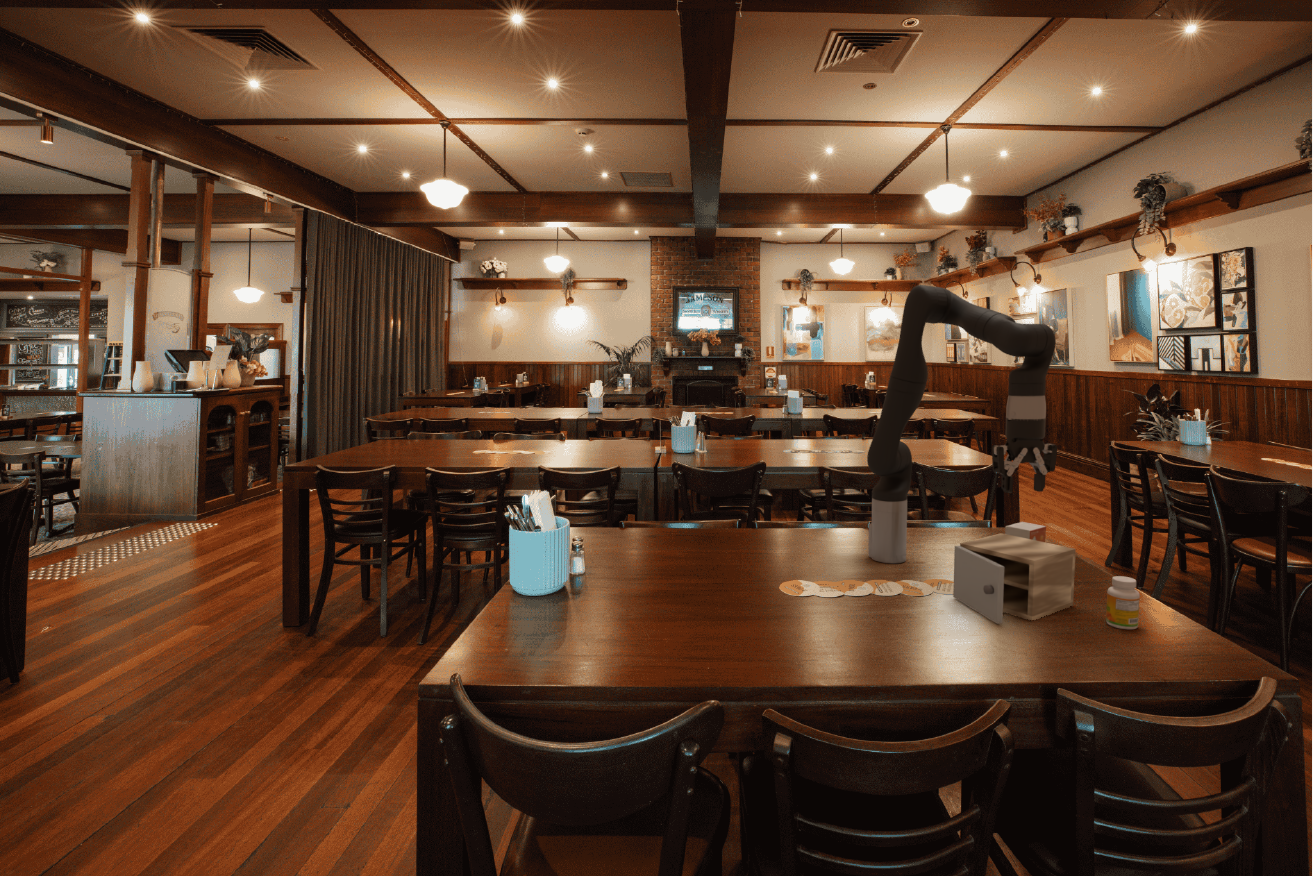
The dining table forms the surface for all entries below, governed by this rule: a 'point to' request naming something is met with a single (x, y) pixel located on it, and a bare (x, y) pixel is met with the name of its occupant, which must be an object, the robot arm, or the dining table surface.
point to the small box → (1027, 531)
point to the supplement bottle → (1123, 603)
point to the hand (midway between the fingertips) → (1022, 491)
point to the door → (979, 583)
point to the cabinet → (1030, 573)
